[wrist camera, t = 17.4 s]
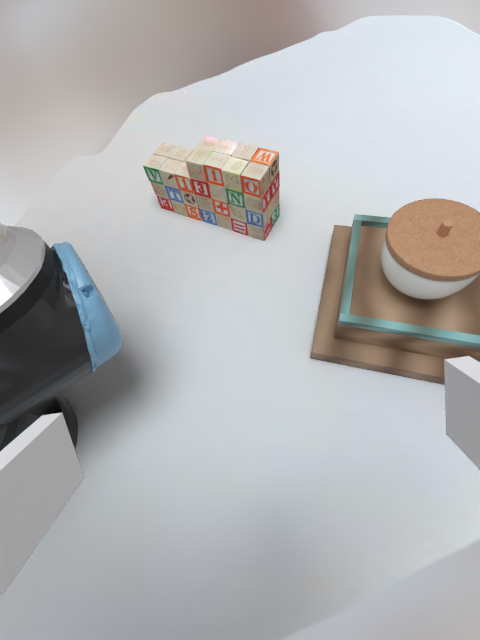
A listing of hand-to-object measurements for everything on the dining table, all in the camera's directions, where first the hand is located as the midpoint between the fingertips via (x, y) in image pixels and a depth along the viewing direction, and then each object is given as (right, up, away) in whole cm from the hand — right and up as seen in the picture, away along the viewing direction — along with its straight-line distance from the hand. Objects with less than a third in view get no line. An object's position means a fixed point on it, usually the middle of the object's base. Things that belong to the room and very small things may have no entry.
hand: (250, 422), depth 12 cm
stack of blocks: (-4, +23, +49) cm, 54 cm away
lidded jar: (+22, +9, +30) cm, 38 cm away
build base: (+22, +6, +36) cm, 42 cm away
